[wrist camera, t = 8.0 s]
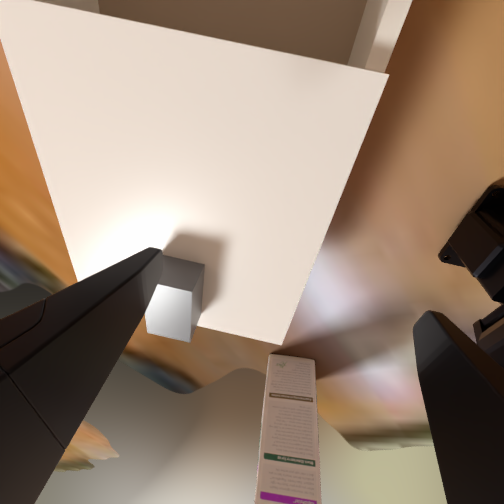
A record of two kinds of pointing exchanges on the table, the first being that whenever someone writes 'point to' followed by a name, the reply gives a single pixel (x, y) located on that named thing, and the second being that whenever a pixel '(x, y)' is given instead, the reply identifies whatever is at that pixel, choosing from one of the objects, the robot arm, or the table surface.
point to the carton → (276, 24)
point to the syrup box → (289, 434)
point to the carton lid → (188, 158)
